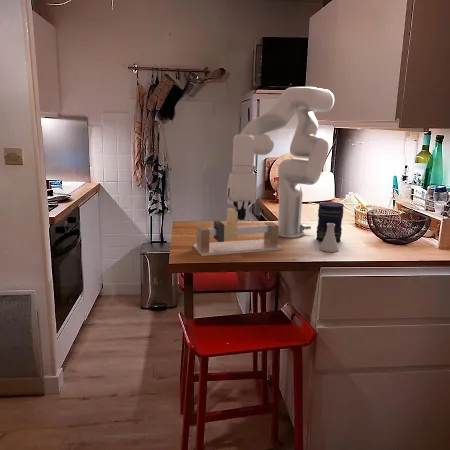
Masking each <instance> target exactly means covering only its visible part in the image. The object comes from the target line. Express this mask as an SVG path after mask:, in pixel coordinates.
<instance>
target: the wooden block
mask: <svg viewBox="0 0 450 450" xmlns="http://www.w3.org/2000/svg"><path fill="white" fill-rule="evenodd" d="M221 222H222V223H223V224H224V241H238V240H237V239H238V237H237V236H238V234H237V226H238V211H237V209H234V207H229V208H228V207H227V208H226V221H221Z"/></svg>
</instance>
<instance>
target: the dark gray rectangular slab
mask: <svg viewBox="0 0 450 450" xmlns="http://www.w3.org/2000/svg"><path fill="white" fill-rule="evenodd" d="M222 222H223V221H220V220H213V228H214V227H217V228H218V234H217V235H216V236H213V238H214V240H215V241H217V242H225V240H224V224H223V223H222Z"/></svg>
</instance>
